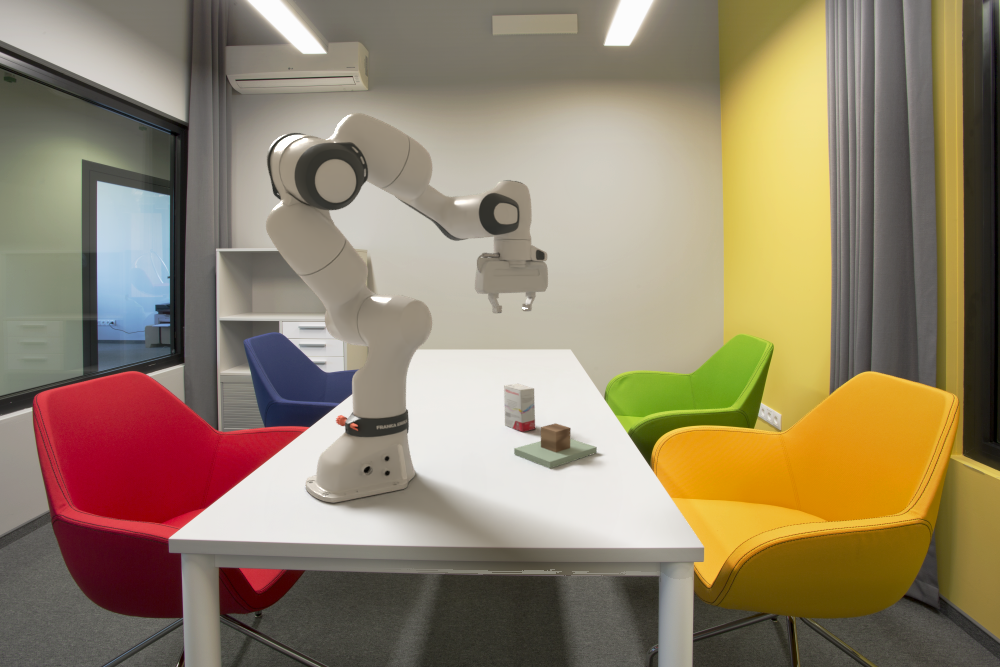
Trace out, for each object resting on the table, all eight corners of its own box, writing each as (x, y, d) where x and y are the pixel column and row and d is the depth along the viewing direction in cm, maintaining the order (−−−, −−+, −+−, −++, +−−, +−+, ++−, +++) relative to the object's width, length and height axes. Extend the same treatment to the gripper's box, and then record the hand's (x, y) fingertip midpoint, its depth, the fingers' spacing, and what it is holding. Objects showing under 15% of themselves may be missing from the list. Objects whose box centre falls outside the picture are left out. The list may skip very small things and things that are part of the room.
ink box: (535, 429, 150) (536, 388, 149) (521, 432, 147) (521, 390, 146) (517, 422, 157) (517, 382, 156) (503, 425, 154) (503, 384, 153)
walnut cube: (555, 452, 127) (555, 431, 126) (540, 447, 130) (540, 427, 130) (570, 448, 130) (570, 427, 129) (555, 443, 134) (555, 423, 133)
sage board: (549, 468, 121) (549, 461, 120) (514, 454, 130) (514, 448, 130) (596, 453, 131) (596, 447, 131) (560, 441, 140) (560, 435, 140)
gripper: (486, 252, 117) (486, 315, 119) (552, 253, 130) (551, 310, 132) (468, 252, 122) (469, 313, 124) (534, 254, 135) (534, 309, 137)
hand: (512, 312), depth 128 cm, fingers open, 8 cm apart
